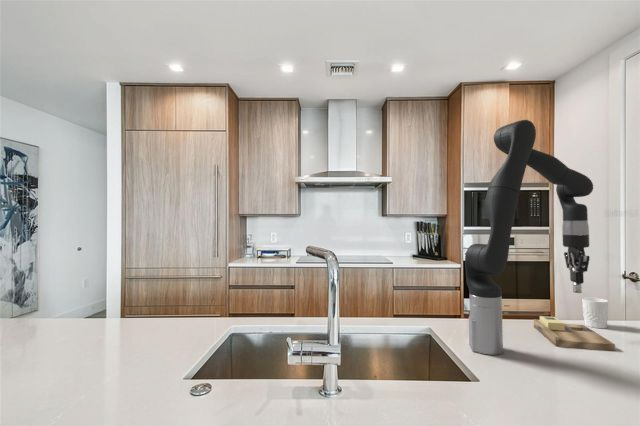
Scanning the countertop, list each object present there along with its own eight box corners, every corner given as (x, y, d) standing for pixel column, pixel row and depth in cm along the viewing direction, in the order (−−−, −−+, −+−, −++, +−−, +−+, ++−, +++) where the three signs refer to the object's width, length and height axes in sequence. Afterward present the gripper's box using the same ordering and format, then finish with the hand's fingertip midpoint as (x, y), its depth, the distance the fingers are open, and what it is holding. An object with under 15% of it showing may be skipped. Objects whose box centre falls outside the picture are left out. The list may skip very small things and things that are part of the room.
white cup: (577, 323, 131) (576, 298, 131) (591, 321, 133) (591, 296, 134) (599, 330, 123) (598, 302, 124) (614, 327, 126) (613, 301, 126)
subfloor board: (555, 346, 108) (555, 336, 108) (533, 327, 128) (533, 319, 128) (615, 350, 104) (614, 341, 104) (583, 330, 123) (582, 322, 124)
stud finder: (548, 329, 118) (548, 322, 118) (539, 322, 126) (539, 315, 126) (564, 330, 117) (564, 323, 117) (555, 323, 124) (555, 316, 124)
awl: (574, 293, 118) (573, 267, 118) (570, 291, 121) (569, 266, 121) (584, 293, 117) (584, 267, 117) (580, 291, 120) (579, 266, 120)
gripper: (555, 232, 127) (556, 278, 127) (572, 234, 114) (573, 285, 113) (578, 232, 125) (579, 279, 125) (598, 234, 112) (600, 286, 111)
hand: (576, 282), depth 119 cm, fingers closed on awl, 3 cm apart
